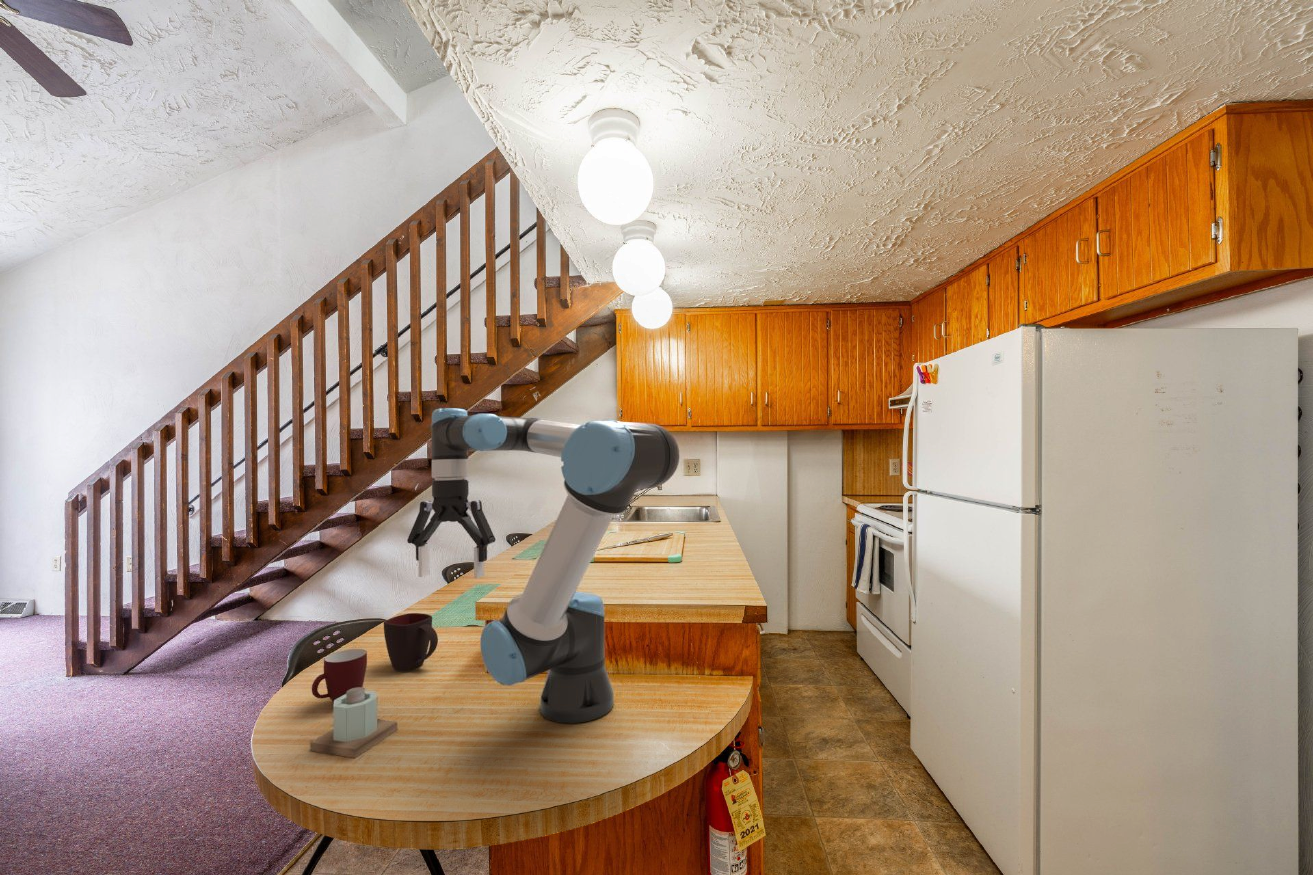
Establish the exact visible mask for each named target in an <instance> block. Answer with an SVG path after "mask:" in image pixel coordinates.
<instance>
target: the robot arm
mask: <svg viewBox="0 0 1313 875" xmlns="http://www.w3.org/2000/svg"><path fill="white" fill-rule="evenodd" d="M430 430H431V431H430V434H431V435H430V436H431V440H430V441H431V478H432V479H434V480H433V481H432V482H431V496H432V498H433V501H431V500H425V501H421V502H420V503H419V509H418V510H419V512H418V514H417V517H416V518H415V520H414V523H413V526H412V528H411V530H410V533H409V534H408V537H407V539H406V540H407V541H406V542H407V543H408V544H412V545H414V546H415V559H416V561H418V578H419V577H420V578H421V577H422V578H423V577H425V576H429V575H430V568H431V567H430V563H431V562H430V544H428V543H429V540H430V539H431V537H432V536H433V535H434V534H435V532H436V530H438V528H439V526H440V525H441V524H442V523H446V522H450V523H453V522H454V523H455V522H457V523H458V524H459V525H461V526H462V527H463V529H464V530H465V531H466V533H467V534H468V535H469V537H470V538H471V539H472V541H473V542H474V544H475V545H476V546H475V547H473V578H474V579H479V578H481V577H482V578H483V577H484V576H485V562H487V560H488V545H491V544H493V543H495V542H496V537H495V535H494V533H493V530H492V529H491V526H490V524H489V522H488V520H487V518H486V515H485V514H484V513H485V512H484V511H483V506H482V501H481V500H480V499H479V500H478V499H477V500H472V501H469V500H468V498H469V497H468V496H469V493H470V492H469V490H470V489H469V480H468V479H466V478H467V477H469V452H476V451H477V452H479V451H480V452H484V451H486V452H487V451H488V452H490V451H495V452H498V451H500V452H501V451H502V452H503V451H504V452H505V451H508V452H509V451H519V452H520V451H521V452H529V453H534V454H542V455H547V456H552V457H558V458H560V462H563V465H562V466H561V467H560V469H561V472H562V474H561V475H562V477H563V479H564V481H563V487H564V490H565V491H566V493H567V496H566V498H565V500H564V502H563V505H562V507H561V509H560V511H559V513H558V516H557V518H556V520H555V521H554V524H553V526H552V528H551V530H550V533H549V535H548V538H547V540H546V542H545V544H544V546H543V548H542V549H541V553H540V554H539V557H538V559H537V561H536V563H535V566H534V568H533V570H532V572H531V575H530V577H529V579H528V581H527V583H526V585H525V588H524V590H523V592H522V593H521V594H518V595H516V596H514V597H513V598H512V599H511V600H509V603H508V604H507V607H506V608H505V611H504V613H503V615H502V617H501V618H500V619H499V620H492V621H491V622H489V623H487V624H486V625H485V626H483V629H482V631H481V634H480V653H481V657H482V660H483V663H484V666H485V668H486V670H487V672H488V673H489V675H490V676H491V677H492V679H493V680H494V681H495V682H496V683H498V684H500V685H502V686H506V687H507V686H513V685H516V684H518V683H523V682H525V681H527V680H530V679H532V678H534V677H536V676H538V675H540V674H542V673H545V672H547V675H546V678H545V681H544V685H543V688H542V690H541V691H542V692H541V694H540V699H539V700H540V701H539V703H540V704H539V706H540V707H539V708H540V714H541V715H542V716H543V717H545V718H546V719H548V720H550V721H552V722H556V723H563V724H578V723H585V722H591V721H594V720H596V719H599V718H601V717H604V716H605V715H606V714H608V713H609V712H610V711H611V710H612V709H613V707H614V702H615V701H614V697H615V696H614V689H613V687H612V684H611V680H610V678H609V674H608V671H607V669H606V665H605V664H606V662H605V660H606V658H605V655H606V654H605V652H606V651H605V649H606V648H605V646H606V645H605V639H606V638H605V628H606V627H605V626H606V624H605V617H606V614H605V611H604V610H605V608H604V606H605V604H604V600H603V599H602V598H601V597H600V596H599V595H597V594H593V593H588V592H579V591H577V590H578V589H579V586H580V584H581V582H582V581H583V578H584V576H585V573H586V572H587V570H588V568H589V566H590V563H591V562H592V560H593V558H594V556H595V554H596V551H597V550H598V547H599V545H600V544H601V541H602V540H603V537H604V535H605V534H606V532H607V530H608V527H609V525H610V524H611V522H612V520H613V517H615V516H618V515H621V514H624V513H625V512H626V511H627V509H628V507H629V505H630V503H631V501H632V500H633V497H634V495H635V494H636V492H637V491H638V490H644V489H645V490H647V489H652V488H657V487H659V486H661V485H664V484H665V483H667V482H668V481H669V480H670V479H671V478H672V477H673V475H675V473H676V471H677V469H678V466H679V463H680V449H679V444H678V441H677V440H676V439H675V437H674V436H673V434H672V433H671V432H670V431H669V430H668V429H666V428H664V427H663V426H661V425H659V424H655V423H649V422H633V421H632V422H630V421H629V422H628V421H619V420H615V419H601V420H592V421H591V420H590V421H588V422H585V423H583V424H579V423H578V424H577V423H570V422H561V421H555V420H554V421H553V420H545V419H541V418H537V417H515V416H513V417H512V416H511V417H510V416H500V415H499V416H498V415H496V414H494V413H483V412H482V413H477V414H473V415H468V411H467V410H466V409H463V408H454V407H453V408H451V407H448V408H447V407H445V408H436V409H435V410H433V411H432V413H431V424H430ZM432 510H433V512H434V513H433V514H432V516H431V517H430V515H431V513H432ZM468 510H469V511H470V512H471V515H470V514H469V513H468V512H467V511H468ZM471 516H472V517H473V520H474V521H473V520H472V517H471ZM429 518H430V519H429ZM428 520H429V522H428ZM427 522H428V523H427Z"/></svg>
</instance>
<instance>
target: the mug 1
mask: <svg viewBox="0 0 1313 875" xmlns="http://www.w3.org/2000/svg"><path fill="white" fill-rule="evenodd" d="M367 656H368V651H367V650H365V649H362V648H352V649H351V648H350V649H344V650H340V651H335V652H332V653H331V654H328V655H327V656H325V657H324V658H323V673H322V674H319V675H318V676H317V677H316V678H315V679H314V681H313V682H312V685H311V692H312V696H314V697H315V698H317V699H328V698H329V699H330V700H331V701H332V703H333V704H334V700H336V699H337V698H339V697H341V696H343V695H345V694H346V692H347V691H348V690H350V689H352V688H357V687H363V686H364V682H365V678H366V677H365V675H366V672H367V671H366V670H367V665H368V657H367ZM323 680H324V681H325V686H326V691H327V692H326V693H325V694H320V692H319V685H320V683H321V682H322V681H323ZM363 688H364V687H363Z"/></svg>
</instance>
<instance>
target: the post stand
mask: <svg viewBox="0 0 1313 875" xmlns="http://www.w3.org/2000/svg"><path fill="white" fill-rule="evenodd" d="M365 690H366V689H365V688H364V687H357V688H352V689H350V690H348V691H347V692H346V704H347V705H351V704H356V703H361V702H363V701H365ZM396 731H398V721H396V720H394V721H393V720H388V719H379V718H377V730H376V731H375V732H373V733H371V734H370V735H368V736H367V737H365V738H362V739H358V740H353V741H349V742H342V741H335V740H333V728H331V729H330V730H329V731H326V732H325V733H323V734H322V735H321V736H318V737H317V738H315V739H313V740H312V741H310V742H309V743H310V744H309V751H311V752H315V753H316V752H317V753H322V754H329V755H334V756H340V757H346V758H353V759H357V758H358V757H359V756H361V755H362V754H364V753H366V751H368V750H369V749H371V748H372V747H374V746H375V745H377V744H378V743H380V742H382V741H383V740H385V739H386V738H387V737H389V736H390V735H392V734H394V733H395V732H396Z"/></svg>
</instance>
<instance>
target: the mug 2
mask: <svg viewBox="0 0 1313 875" xmlns="http://www.w3.org/2000/svg"><path fill="white" fill-rule="evenodd" d="M383 633H384V641H385V645H386V650H387V655H388V658H389V661H390V664H391V666H392V669H393V670H394V671H396V672H401V673H408V672H412V671H414V670H418V669H419V668H421V667H422V666H423V665H424V664H425V661H426V660H427V659H429V658H430V657H431V656H432V655H433V653H434V652H435V651H436V649H437V646H438V642H439V637H438V634H437V631H436V630H435V628H434V627H433V616H432V615H431V614H428V613H421V612H420V613H418V612H416V613H415V612H411V613H404V614H401V615H397V616H393V617H391V618H388V619H386V620H385V621H383Z"/></svg>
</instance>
